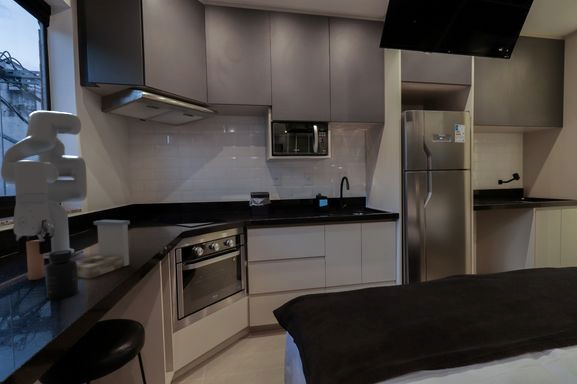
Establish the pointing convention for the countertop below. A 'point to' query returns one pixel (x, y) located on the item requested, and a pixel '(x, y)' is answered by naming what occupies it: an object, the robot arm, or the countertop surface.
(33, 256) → the peg
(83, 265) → the socket block
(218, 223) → the countertop surface
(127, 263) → the white lidded canister
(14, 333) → the countertop surface
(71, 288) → the supplement bottle
